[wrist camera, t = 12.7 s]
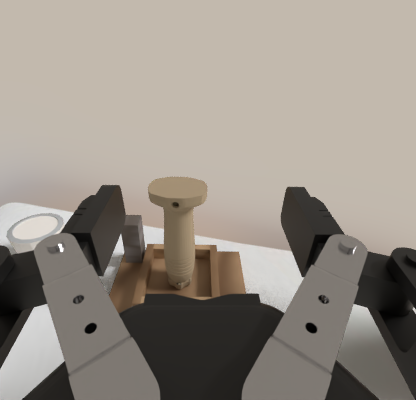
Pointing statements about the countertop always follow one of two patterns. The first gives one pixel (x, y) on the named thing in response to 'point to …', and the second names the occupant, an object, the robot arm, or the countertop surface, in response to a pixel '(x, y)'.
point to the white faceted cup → (33, 231)
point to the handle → (178, 223)
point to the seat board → (157, 275)
